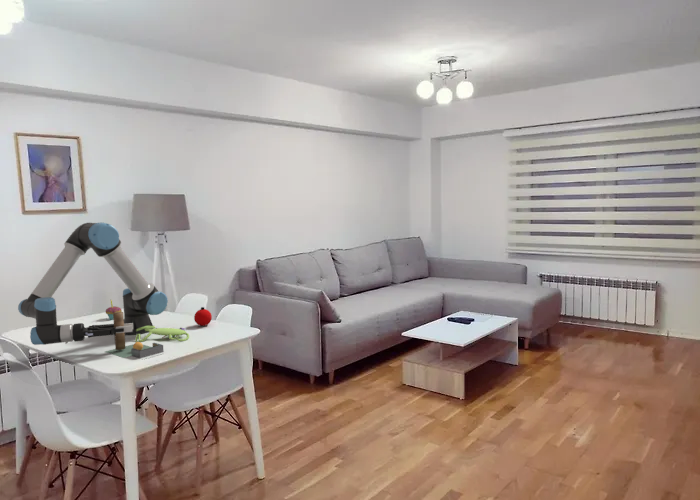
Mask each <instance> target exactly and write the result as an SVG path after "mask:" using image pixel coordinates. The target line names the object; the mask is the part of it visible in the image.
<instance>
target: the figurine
mask: <svg viewBox="0 0 700 500" xmlns="http://www.w3.org/2000/svg"><path fill="white" fill-rule="evenodd" d="M142 329H145V331H149V332H148V334H147V335H145V336H144V337H143V338H142V339H141V334H135V335H136V336H135V339H134V340H135V343H136V342H141V343H143V342H145V341H146V340H147V339H148V338H149V337H151V335H158V336H162V337H161V338H162V339H163V338H166V337H167V336H168V339H169V340H171V341H173V340H177V341H178V342H185V341H188V340H189V339H190V334H189V333H188V332H187V331H186V328H183V327H179V328H172V327H158V328H156V326H155V325H153V326H144V327H141V328H138V329H136V331H139V330H142ZM182 335H186V337H184V338H180V337H181V336H182Z"/></svg>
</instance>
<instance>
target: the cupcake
mask: <svg viewBox="0 0 700 500" xmlns="http://www.w3.org/2000/svg"><path fill="white" fill-rule="evenodd" d="M110 305H111V306H110V307H107V308H106V309H105V314H106V315H107V316H108V319H109V320H111V321H112V320H113V321H114V318H113V313H115V312H123V311H122V308H121V307H119V306H117V305H116V306H113V300H112V299H110Z"/></svg>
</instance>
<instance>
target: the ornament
mask: <svg viewBox="0 0 700 500" xmlns="http://www.w3.org/2000/svg"><path fill="white" fill-rule="evenodd" d="M212 318H213V317H212V313H211V311H209V309H206V308H205V307H204V306H201V307H200V309H198V310H197V311H196V312H195V314H194V317H193V319H194V322H195V323H196V325H198V326H200V327H205V326H207V325H209V324H210V323H211V322H212Z"/></svg>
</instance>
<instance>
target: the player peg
mask: <svg viewBox="0 0 700 500" xmlns="http://www.w3.org/2000/svg"><path fill="white" fill-rule="evenodd" d="M113 318H114V320H113V324H114V328H115V329H116V327H120V326H124V311H122V312H115V313H113ZM125 335H126V334H125V333H116V335H114V349H116V350H122V349H125V346H126V338H125V337H126V336H125Z"/></svg>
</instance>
